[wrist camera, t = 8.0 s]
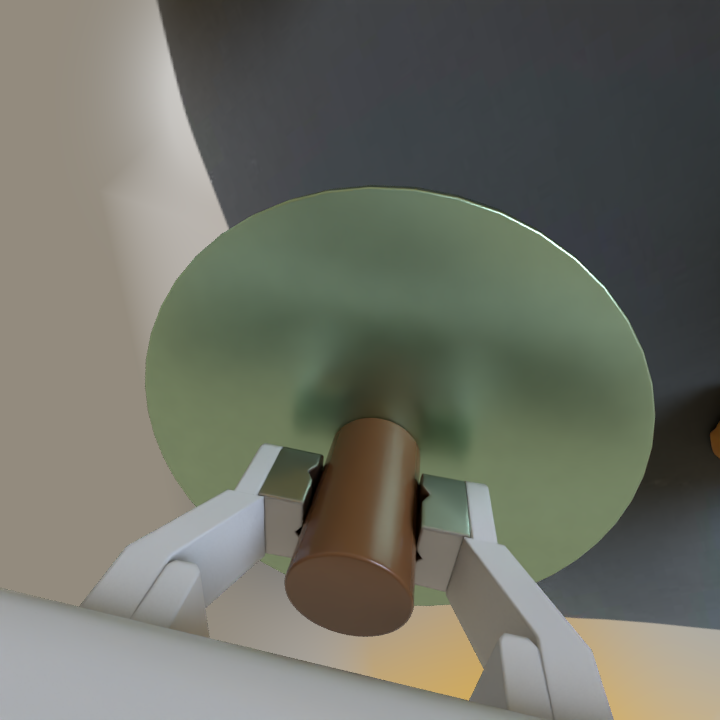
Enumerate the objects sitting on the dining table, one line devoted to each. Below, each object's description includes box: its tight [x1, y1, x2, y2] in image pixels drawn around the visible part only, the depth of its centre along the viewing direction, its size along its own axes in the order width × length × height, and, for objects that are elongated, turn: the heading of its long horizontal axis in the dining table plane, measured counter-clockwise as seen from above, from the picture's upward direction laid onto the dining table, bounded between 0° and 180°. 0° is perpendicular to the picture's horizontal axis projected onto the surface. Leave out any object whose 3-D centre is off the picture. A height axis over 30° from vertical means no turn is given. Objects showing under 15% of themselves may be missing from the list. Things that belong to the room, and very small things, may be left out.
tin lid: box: [145, 185, 655, 637], centre depth 9 cm, size 13×13×5 cm
